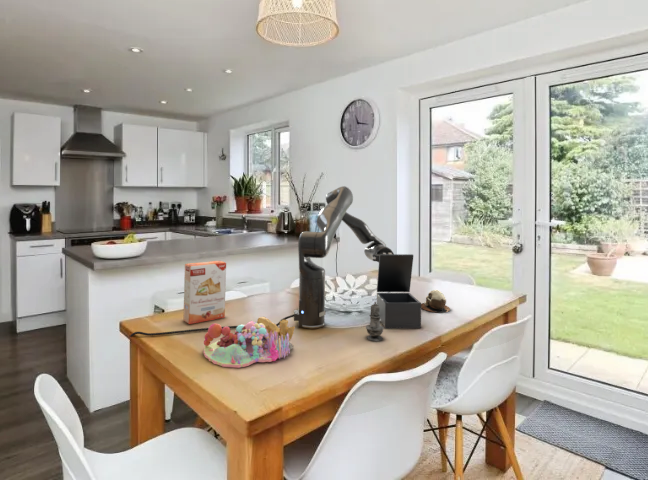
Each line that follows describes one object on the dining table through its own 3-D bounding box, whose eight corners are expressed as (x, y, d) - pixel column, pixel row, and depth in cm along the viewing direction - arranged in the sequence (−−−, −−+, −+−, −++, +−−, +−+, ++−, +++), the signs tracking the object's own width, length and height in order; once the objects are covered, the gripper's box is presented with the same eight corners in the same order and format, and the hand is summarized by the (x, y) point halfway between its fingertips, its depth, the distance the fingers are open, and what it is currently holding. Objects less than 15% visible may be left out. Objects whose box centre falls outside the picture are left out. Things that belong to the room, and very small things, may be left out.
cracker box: (189, 325, 144) (190, 265, 144) (182, 321, 149) (183, 263, 149) (225, 318, 153) (226, 261, 153) (218, 314, 158) (219, 259, 158)
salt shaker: (383, 342, 130) (383, 304, 130) (364, 340, 132) (365, 303, 132) (384, 336, 136) (384, 299, 136) (366, 334, 137) (367, 298, 137)
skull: (412, 302, 174) (426, 284, 176) (428, 318, 176) (442, 299, 178) (427, 309, 162) (442, 289, 164) (444, 326, 164) (459, 305, 166)
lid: (413, 255, 155) (413, 254, 155) (380, 255, 154) (379, 254, 155) (409, 292, 159) (409, 291, 160) (377, 292, 158) (376, 291, 159)
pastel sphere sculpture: (251, 331, 139) (252, 304, 139) (307, 347, 125) (308, 317, 125) (190, 354, 118) (190, 322, 118) (248, 377, 105) (249, 340, 105)
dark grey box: (420, 328, 145) (421, 303, 145) (385, 328, 144) (385, 303, 144) (409, 315, 159) (409, 292, 159) (376, 315, 159) (376, 292, 159)
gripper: (367, 245, 177) (376, 251, 160) (398, 246, 178) (409, 251, 161) (367, 263, 177) (375, 271, 160) (397, 263, 178) (409, 271, 161)
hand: (392, 261), depth 160 cm, fingers closed
